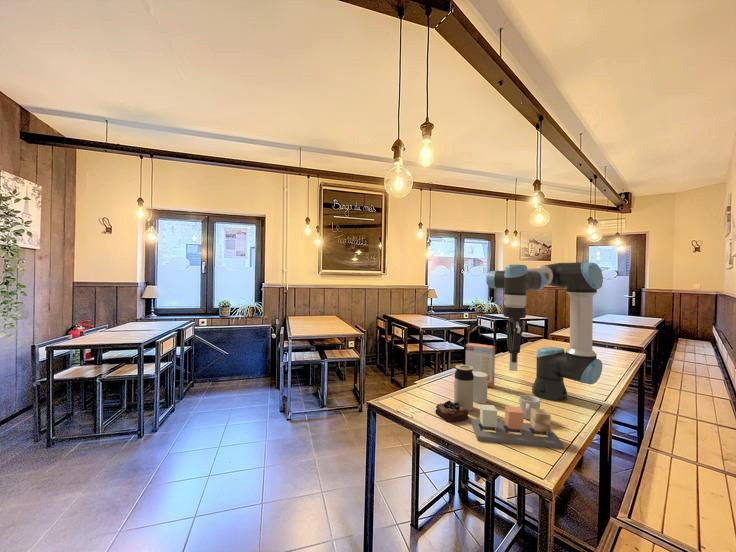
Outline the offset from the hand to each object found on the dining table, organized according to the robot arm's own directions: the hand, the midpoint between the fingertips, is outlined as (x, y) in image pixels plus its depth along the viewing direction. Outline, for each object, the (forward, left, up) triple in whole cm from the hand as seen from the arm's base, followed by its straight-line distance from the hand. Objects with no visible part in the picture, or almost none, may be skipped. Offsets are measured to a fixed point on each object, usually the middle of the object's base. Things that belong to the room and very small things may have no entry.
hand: (512, 370), depth 119 cm
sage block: (+9, +1, -20) cm, 22 cm away
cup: (-11, -14, -24) cm, 29 cm away
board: (-1, +1, -23) cm, 23 cm away
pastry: (+20, -11, -24) cm, 33 cm away
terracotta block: (0, +1, -20) cm, 20 cm away
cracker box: (+2, -54, -24) cm, 59 cm away
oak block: (-10, +1, -20) cm, 22 cm away
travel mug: (+14, -20, -24) cm, 34 cm away
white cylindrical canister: (+6, -31, -24) cm, 39 cm away
